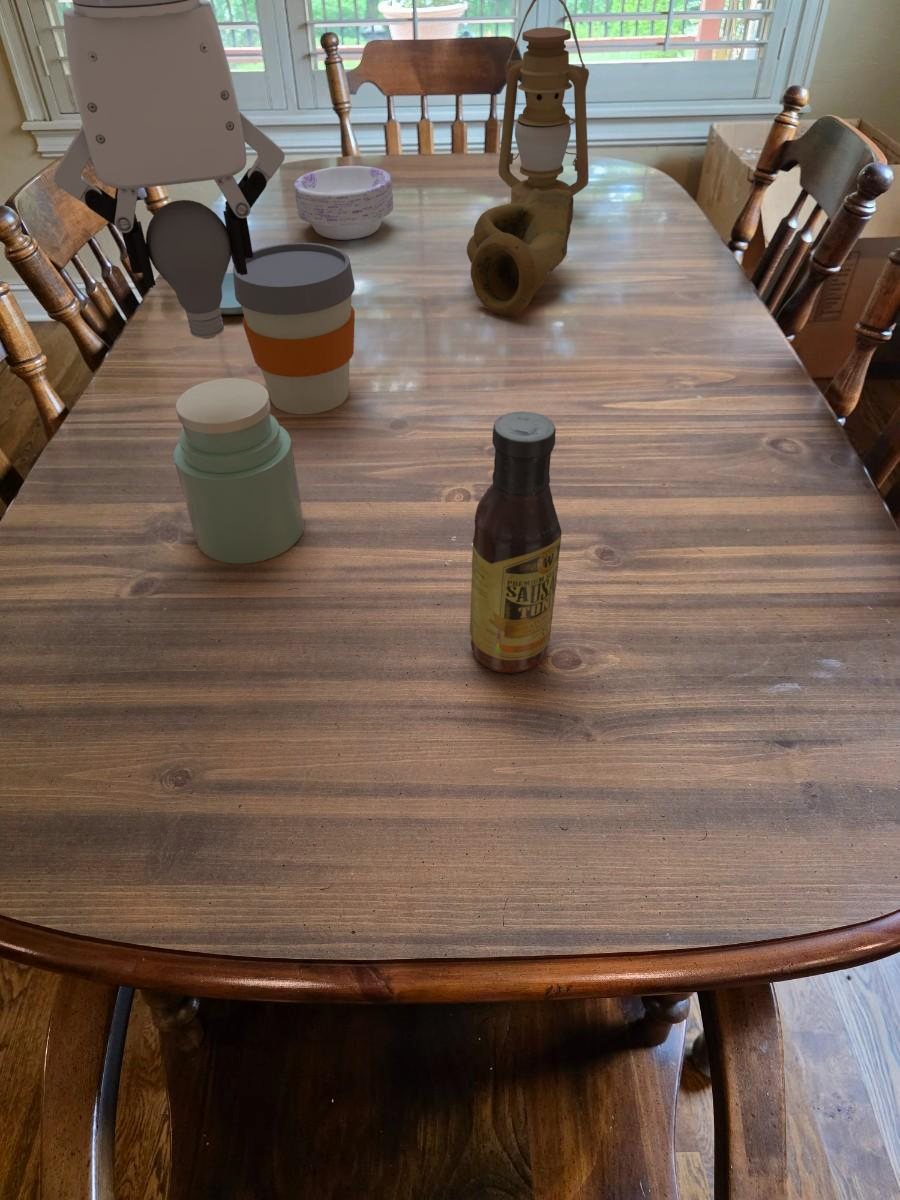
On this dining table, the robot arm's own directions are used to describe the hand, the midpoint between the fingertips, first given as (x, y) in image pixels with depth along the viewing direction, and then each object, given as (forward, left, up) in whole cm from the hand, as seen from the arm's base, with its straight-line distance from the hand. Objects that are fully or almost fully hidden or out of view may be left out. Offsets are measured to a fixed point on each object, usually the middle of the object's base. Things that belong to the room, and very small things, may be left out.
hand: (195, 272), depth 65 cm
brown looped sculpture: (0, +64, -24) cm, 68 cm away
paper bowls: (-33, +72, -24) cm, 83 cm away
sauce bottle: (+28, -4, -24) cm, 37 cm away
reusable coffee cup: (-9, +24, -24) cm, 35 cm away
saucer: (-32, +41, -24) cm, 57 cm away
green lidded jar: (0, 0, -24) cm, 24 cm away
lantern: (-8, +93, -24) cm, 96 cm away
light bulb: (0, 0, -5) cm, 5 cm away
